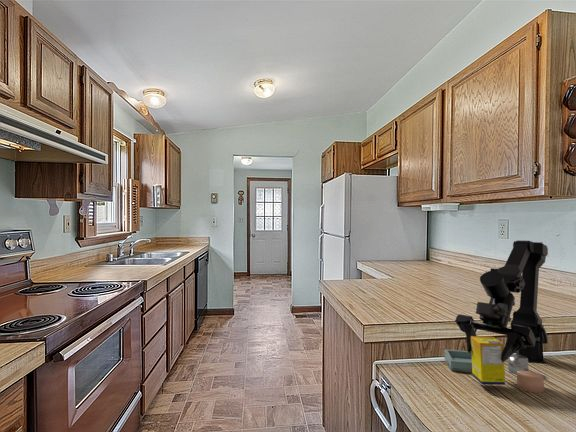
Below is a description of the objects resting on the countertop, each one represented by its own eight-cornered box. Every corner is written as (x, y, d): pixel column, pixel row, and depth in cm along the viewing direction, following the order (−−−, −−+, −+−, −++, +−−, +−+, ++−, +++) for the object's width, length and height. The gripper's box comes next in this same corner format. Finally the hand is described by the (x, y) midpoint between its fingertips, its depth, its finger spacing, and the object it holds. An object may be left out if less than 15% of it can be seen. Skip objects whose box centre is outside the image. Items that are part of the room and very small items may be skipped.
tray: (480, 361, 109) (479, 352, 109) (490, 374, 99) (490, 364, 99) (444, 358, 112) (444, 349, 112) (451, 371, 101) (450, 360, 102)
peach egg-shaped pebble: (538, 384, 92) (537, 371, 92) (548, 394, 86) (548, 380, 87) (513, 382, 94) (512, 369, 94) (522, 392, 88) (521, 378, 88)
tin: (524, 369, 102) (523, 354, 102) (531, 376, 97) (531, 360, 98) (506, 368, 104) (505, 353, 104) (512, 374, 99) (511, 359, 99)
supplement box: (494, 375, 93) (492, 335, 94) (505, 385, 87) (503, 343, 88) (471, 375, 94) (469, 335, 94) (481, 385, 88) (479, 342, 88)
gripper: (456, 287, 101) (439, 331, 94) (529, 295, 87) (515, 348, 79) (469, 309, 106) (454, 353, 98) (541, 321, 91) (529, 373, 84)
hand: (484, 356), depth 90 cm, fingers closed on supplement box, 8 cm apart
